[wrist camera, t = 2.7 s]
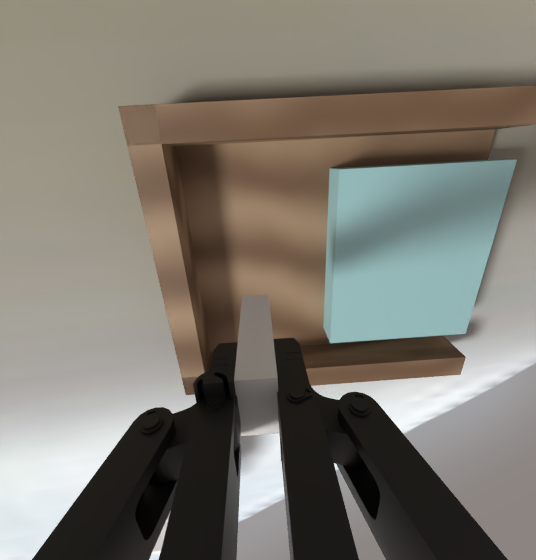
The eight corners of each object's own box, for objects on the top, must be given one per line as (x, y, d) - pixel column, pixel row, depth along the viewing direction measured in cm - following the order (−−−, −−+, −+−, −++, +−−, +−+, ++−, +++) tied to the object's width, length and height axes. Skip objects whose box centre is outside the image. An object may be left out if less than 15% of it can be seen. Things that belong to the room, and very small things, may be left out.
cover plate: (329, 168, 20) (339, 169, 18) (487, 159, 20) (517, 159, 18) (323, 327, 26) (330, 343, 23) (447, 318, 26) (465, 333, 24)
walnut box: (144, 116, 19) (118, 106, 15) (494, 98, 19) (549, 84, 16) (194, 364, 28) (185, 394, 24) (433, 346, 28) (460, 374, 25)
